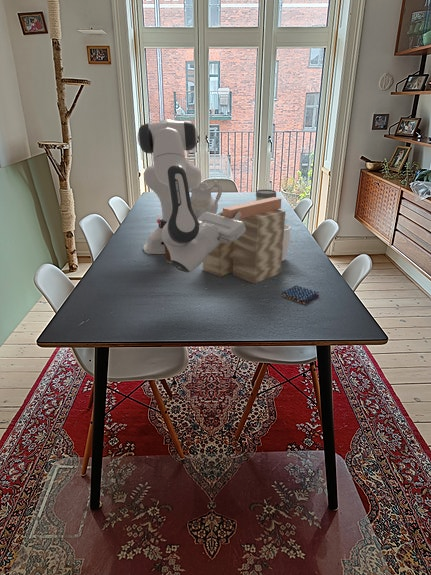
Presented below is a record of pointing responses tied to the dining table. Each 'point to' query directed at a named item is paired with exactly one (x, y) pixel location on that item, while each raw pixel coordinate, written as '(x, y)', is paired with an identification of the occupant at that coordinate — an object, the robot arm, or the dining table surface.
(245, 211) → the rod
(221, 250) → the base block
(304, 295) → the woven mat
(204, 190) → the ceramic pitcher
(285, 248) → the jar
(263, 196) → the reusable coffee cup
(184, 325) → the dining table surface
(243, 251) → the stand
